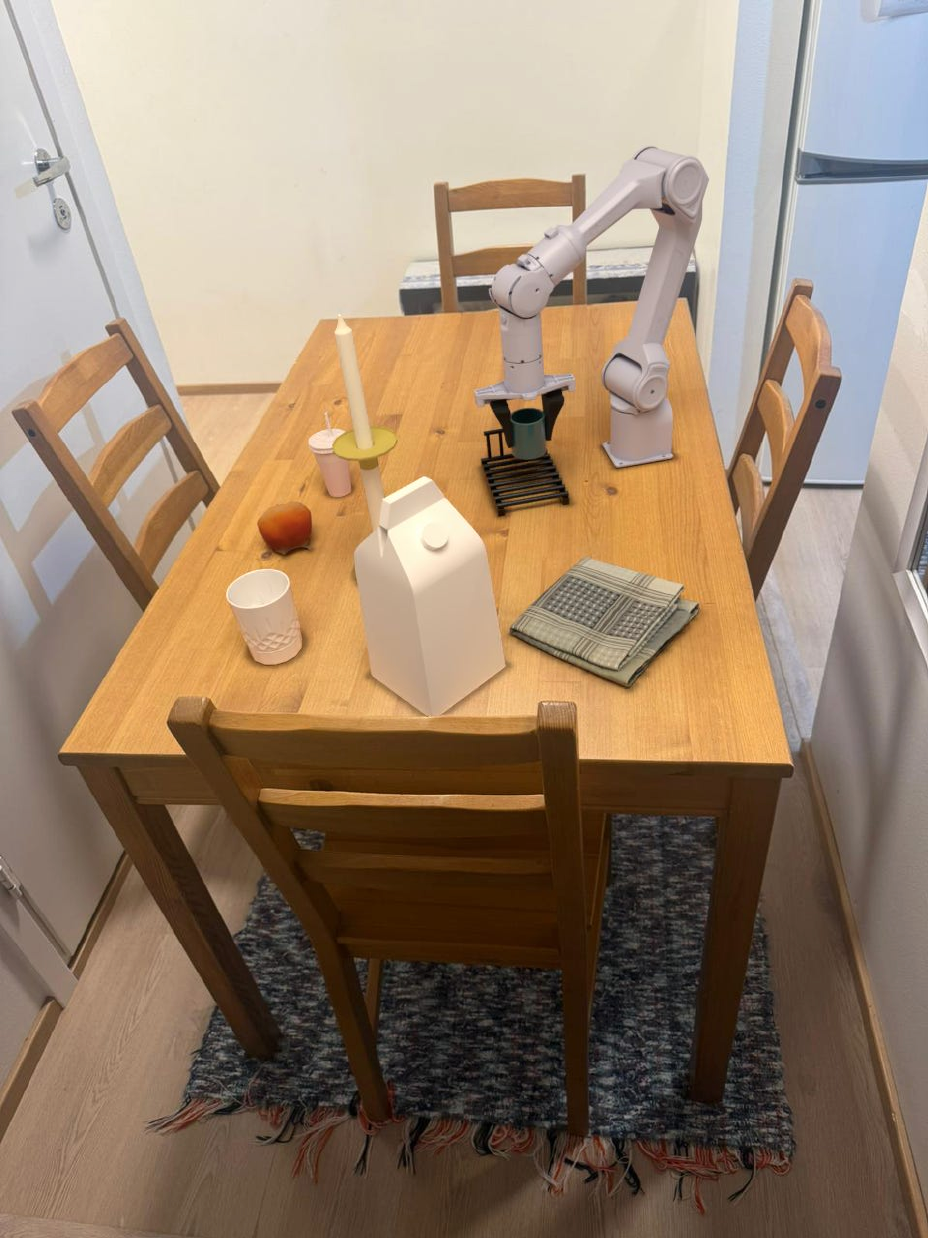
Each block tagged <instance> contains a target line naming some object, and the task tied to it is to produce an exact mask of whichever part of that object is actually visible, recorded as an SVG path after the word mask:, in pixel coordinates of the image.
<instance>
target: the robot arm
mask: <svg viewBox="0 0 928 1238" xmlns="http://www.w3.org/2000/svg"><path fill="white" fill-rule="evenodd" d="M709 181H710V177H709V176H708V174H707V172H706V170H705V168H704V166H703V163H702V162H701V160H699V158H697V157H696V156H694V155H684V154H680V153H677V152H672V151H668V150H665V149H661V148H658V147H656V146H653V145H647V146H643V147H641V148H639V149H638V150H637V151H636V152H635V153H634V154H633V156H632V157H631V158H629V159H627V160H626V161H624V162H623V163H622V164H621V168H620V170H619V172H618V175H617V176H616V177H615V178H614V179H613V181H612V182H611V183H610V184H609V185H608V186H607V187H606V188H605V189H604V190H603V191H602V192H601V193H600V194H599V195H598V196H597V197H596V198H595V199H594V200H593V201H592V203H590V204H589V205H588V207H586V208H585V210H584V211H582V213H581V214H580V215H578V217H576V219H575V220H574V221H573V222H572V223H571V224H570V225H564V224H557V225H556V226H555V227H551V226H550V227H548V228H547V229H546V230H545V231H544V232H543V235H544V237H543V238H542V239H541V240H539V242H537V243H536V244H535V245H534V246H533V247H532V248H530V249H529V250H528V251H527V252H526V253H523V254H521V255H520V256H518V258H517V262H516V263H510V264H506V265H504V266H503V267H501V268H500V269H499V270H498V271H497V272H496V273H495V275H494V276H493V280H492V283H491V288H488V294H489V297H490V299H491V301H492V302H493V303H494V304H495V305H496V307H497V309H498V310H497V311H498V317H499V318H498V319H499V332H500V342H501V357H502V369H503V380H502V381H499V382H497V383H494V384H490V385H488V386H485V387H482V388H479V389H478V388H477V389H474V390H473V393H474V402H475V406H476V408H484V407H485V406H486V405H489V406H490V408H491V411H492V413H493V415H494V416H495V418H496V420H497V421H498V423H499V425H500V427H501V429H503V432H504V433H503V435H504V441H505V444H506V446H507V448H508V449H511V448H512V447H513V440H512V434H511V413H512V412H511V410H510V407H509V403H508V401H513V400H523V402H528V401H529V402H530V401H535V400H537V399H538V397H539V396H541V405H542V411H543V412H544V413H545V420H546V441H547V442H551V441H552V438H553V432H554V428H555V424H556V421H557V419H558V416H559V414H560V412H561V410H562V408H563V406H564V404H565V396H564V395H563V392H565V391H566V392H568V393H573V392H576V390H577V389H576V378H575V376H574V374H573V373H566V374H565V373H564V374H563V373H562V374H545V368H544V367H545V366H544V348H543V345H544V344H543V328H542V325H543V324H542V312H543V311H544V309H545V308H546V307H547V304H548V301H549V298H550V295H551V294H552V292H553V291H554V288H556V286H557V285H559V284H560V283H561V282H562V281H563V280H565V278H566V277H567V276H568V275H570V274H571V273H572V272H574V270H575V269H576V268H577V267H578V266H579V265H580V264H582V263H583V262H584V261H585V258H586V252H587V246H588V245H590V244H591V243H592V242H594V241H595V240H596V239H597V238H599V237H600V236H601V235H602V234H604V233H605V232H606V231H608V230H609V229H610V228H611V227H613V226H614V225H615V224H616V223H617V222H619V221H620V220H621V219H623V218H624V217H625V216H626V215H628V214H629V213H630V212H632V211H633V210H641V209H642V210H646V209H647V210H650V212H651V214H652V215H653V218H654V219H655V221H656V223H657V224H658V230H657V234H656V237H655V240H654V244H653V247H652V251H651V254H650V258H649V261H648V264H647V268H646V271H645V275H644V278H643V282H642V284H641V289H640V292H639V295H638V299H637V302H636V306H635V309H634V313H633V316H632V320H631V323H630V327H629V329H628V333H627V336H626V337H625V338H623V339H621V340H619V341H618V342H617V343H615V344H614V345H613V348H612V349H613V350H612V352H611V354H610V356H609V358H608V360H607V361H606V362H605V363H604V365H603V368H602V371H601V375H600V376H601V377H600V381H601V384H602V386H603V388H604V389H605V390H607V391H608V399H609V401H610V402H609V403H610V421H609V422H610V423H609V424H610V428H609V429H610V430H609V431H610V435H609V436H610V439H609V441H605V442H603V443H602V447H603V449H604V451H605V453H606V454H607V456H608V457H609V459H610V460H611V461H610V462H612V464H613V466H614V467H615V468H616V469H620V468H626V467H631V466H637V465H642V464H648V463H653V462H659V461H665V460H671V459H673V458H674V454H673V453H672V452H673V451H672V449H673V430H674V413H673V407H672V404H671V401H670V400H669V398H668V397H667V393H668V391H669V390H668V389H669V378H668V377H669V372H670V370H671V369H670V368H671V362H670V359H669V358H668V355H667V353H666V350H665V348H664V344H665V341H666V337H667V334H668V331H669V328H670V324H671V321H672V318H673V315H674V311H675V309H676V305H677V302H678V299H679V297H680V292H681V289H682V286H683V283H684V280H685V276H686V274H687V271H688V267H689V264H690V262H691V261H690V260H691V258H692V255H693V251H694V247H695V245H696V242H697V238H698V235H699V232H700V229H701V225H702V221H703V200H704V197H705V193H706V191H707V187H708V184H709Z"/></svg>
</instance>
